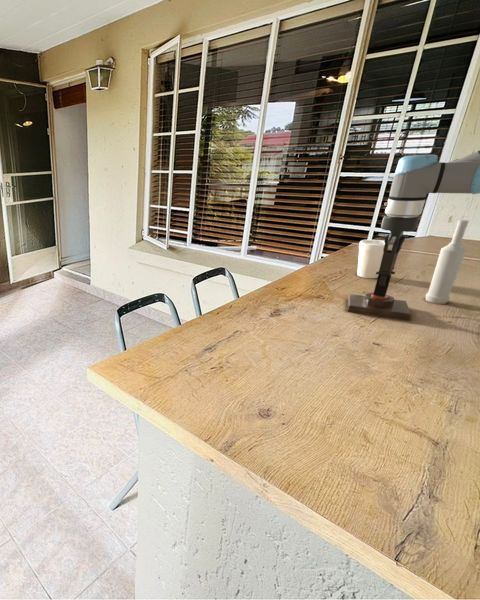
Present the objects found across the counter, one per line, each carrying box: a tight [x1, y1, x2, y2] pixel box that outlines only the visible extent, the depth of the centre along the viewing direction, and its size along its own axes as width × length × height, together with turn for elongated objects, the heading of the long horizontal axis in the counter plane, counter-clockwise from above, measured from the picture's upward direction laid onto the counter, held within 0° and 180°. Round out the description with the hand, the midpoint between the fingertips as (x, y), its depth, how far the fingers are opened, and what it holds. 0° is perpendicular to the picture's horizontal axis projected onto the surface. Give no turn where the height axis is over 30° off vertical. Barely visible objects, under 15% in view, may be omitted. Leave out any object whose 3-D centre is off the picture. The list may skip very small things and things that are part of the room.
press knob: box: [371, 294, 388, 300], centre depth 105 cm, size 4×4×2 cm
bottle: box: [425, 219, 470, 305], centre depth 105 cm, size 5×5×25 cm
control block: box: [347, 292, 412, 321], centre depth 106 cm, size 14×11×4 cm
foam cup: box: [356, 239, 385, 279], centre depth 131 cm, size 10×9×13 cm
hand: (379, 294), depth 105 cm, fingers closed
